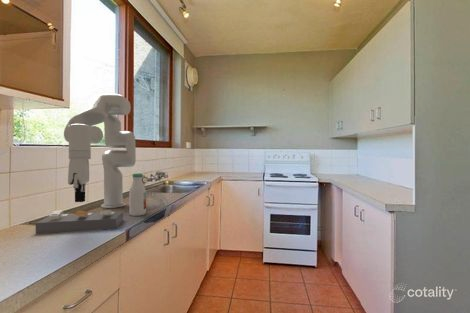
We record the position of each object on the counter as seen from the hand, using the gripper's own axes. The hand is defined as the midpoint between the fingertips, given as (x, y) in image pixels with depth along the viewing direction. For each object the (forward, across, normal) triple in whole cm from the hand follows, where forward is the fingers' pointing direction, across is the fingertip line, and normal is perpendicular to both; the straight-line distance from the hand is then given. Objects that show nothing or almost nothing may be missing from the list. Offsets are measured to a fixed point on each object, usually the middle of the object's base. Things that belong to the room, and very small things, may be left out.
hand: (80, 201), depth 104 cm
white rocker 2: (+6, -2, +9) cm, 11 cm away
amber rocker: (+6, -2, 0) cm, 6 cm away
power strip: (+11, -4, 0) cm, 11 cm away
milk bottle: (+11, -21, +19) cm, 30 cm away
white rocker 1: (+6, -2, -9) cm, 11 cm away
